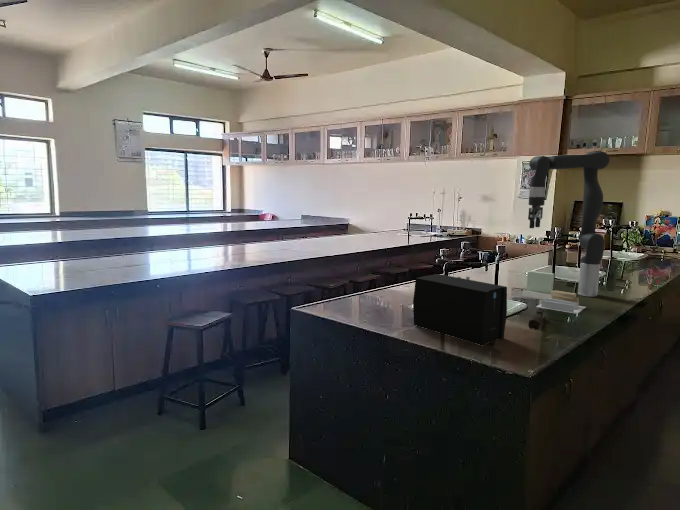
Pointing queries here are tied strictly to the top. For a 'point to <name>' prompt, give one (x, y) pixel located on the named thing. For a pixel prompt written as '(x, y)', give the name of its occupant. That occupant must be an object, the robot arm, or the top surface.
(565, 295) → the offcut stack
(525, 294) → the white stand
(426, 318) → the uninterruptible power supply
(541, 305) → the grey rack
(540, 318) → the hand tool
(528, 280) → the sage board
